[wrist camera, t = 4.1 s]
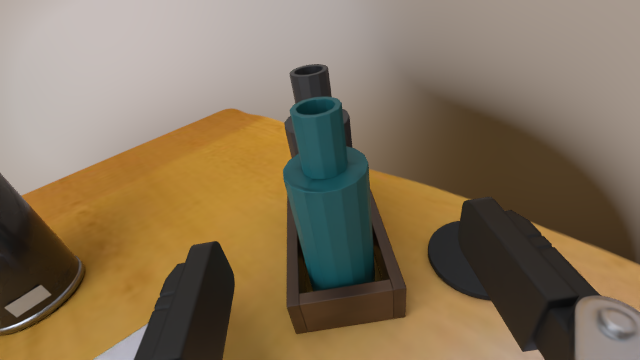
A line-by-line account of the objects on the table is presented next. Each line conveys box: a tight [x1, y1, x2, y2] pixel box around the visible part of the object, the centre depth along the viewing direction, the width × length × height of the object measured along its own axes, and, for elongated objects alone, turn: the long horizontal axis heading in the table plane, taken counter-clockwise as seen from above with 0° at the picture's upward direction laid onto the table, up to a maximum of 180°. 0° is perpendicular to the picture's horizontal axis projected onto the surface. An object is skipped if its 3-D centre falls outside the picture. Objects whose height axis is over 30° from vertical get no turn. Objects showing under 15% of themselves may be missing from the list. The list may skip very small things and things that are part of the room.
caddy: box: [287, 190, 406, 334], centre depth 31 cm, size 9×17×4 cm, turn 5°
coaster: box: [428, 221, 491, 300], centre depth 29 cm, size 9×9×1 cm
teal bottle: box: [283, 97, 375, 291], centre depth 24 cm, size 6×6×18 cm
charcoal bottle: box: [285, 64, 352, 158], centre depth 31 cm, size 6×6×18 cm
